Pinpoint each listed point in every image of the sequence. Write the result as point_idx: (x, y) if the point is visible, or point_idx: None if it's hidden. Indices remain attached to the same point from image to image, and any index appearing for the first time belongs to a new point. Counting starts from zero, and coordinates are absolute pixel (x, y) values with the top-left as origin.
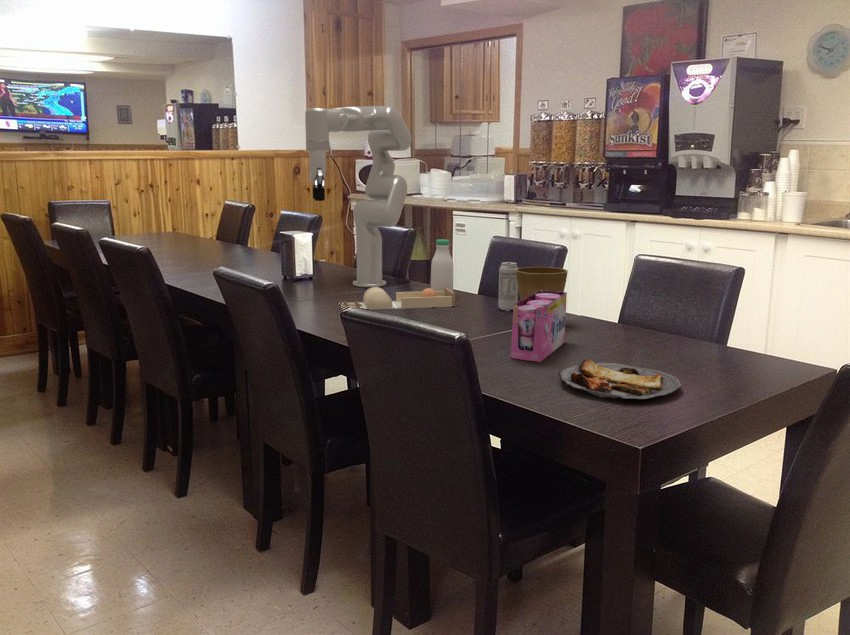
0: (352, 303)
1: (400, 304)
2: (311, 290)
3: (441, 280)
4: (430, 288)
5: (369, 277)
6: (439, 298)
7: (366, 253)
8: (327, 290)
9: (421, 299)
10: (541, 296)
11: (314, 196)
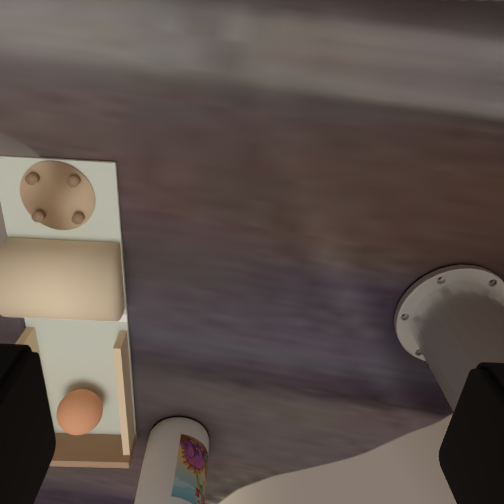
0: (83, 204)
1: (72, 331)
2: (427, 99)
3: (140, 476)
4: (72, 432)
5: (421, 325)
6: None
7: (465, 381)
8: (402, 162)
9: None
10: None
11: (483, 401)
